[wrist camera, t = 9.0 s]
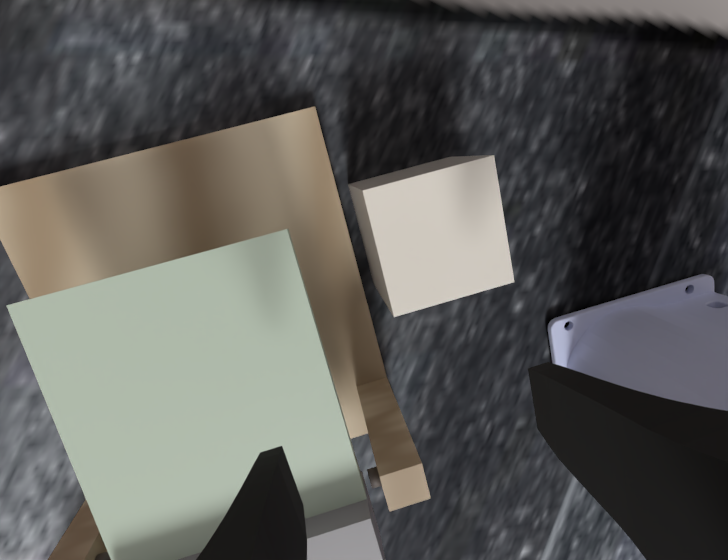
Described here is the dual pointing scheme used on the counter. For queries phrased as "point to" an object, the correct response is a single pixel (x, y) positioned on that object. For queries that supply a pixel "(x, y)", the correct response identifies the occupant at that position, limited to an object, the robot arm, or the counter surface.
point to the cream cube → (434, 232)
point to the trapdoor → (197, 399)
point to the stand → (209, 231)
